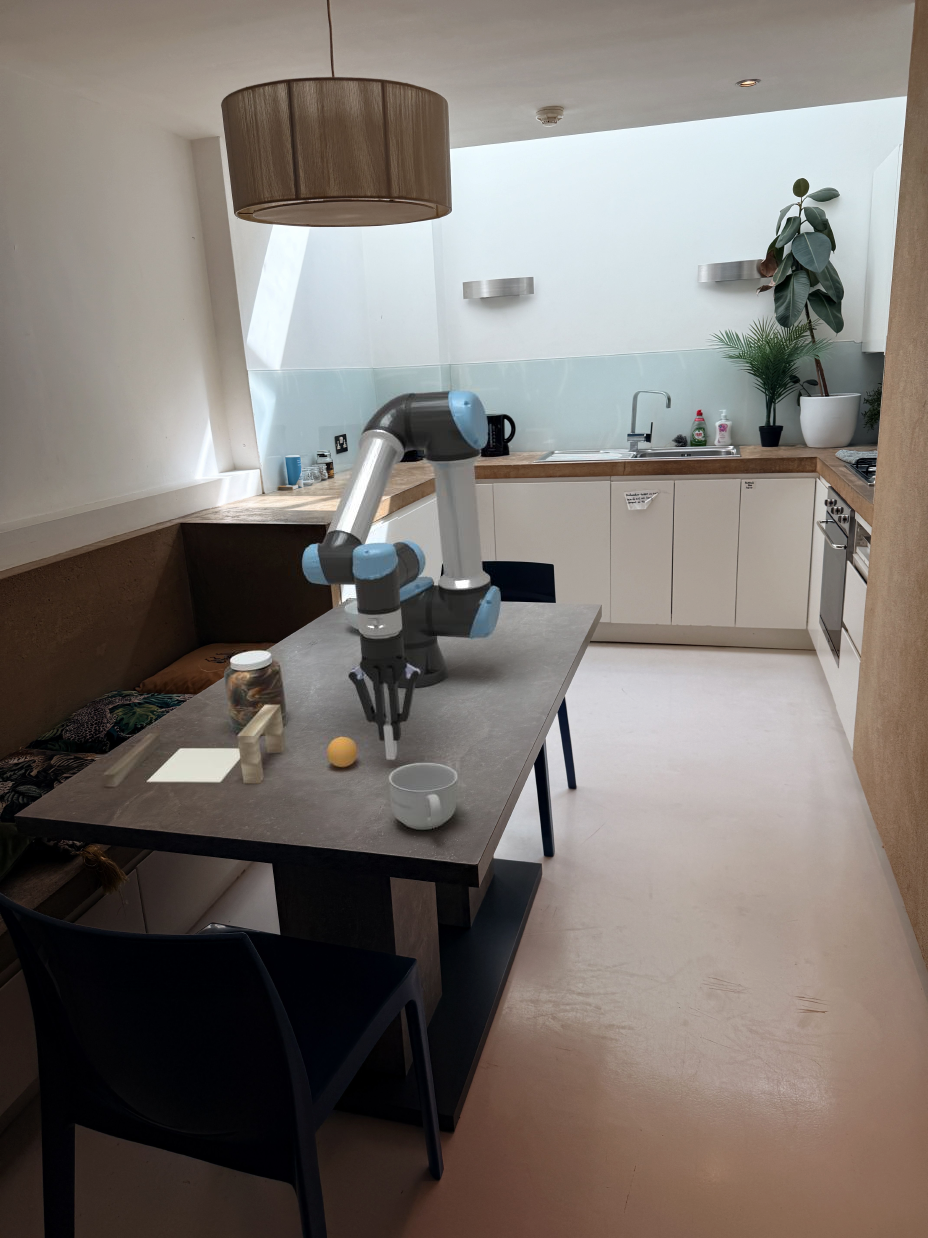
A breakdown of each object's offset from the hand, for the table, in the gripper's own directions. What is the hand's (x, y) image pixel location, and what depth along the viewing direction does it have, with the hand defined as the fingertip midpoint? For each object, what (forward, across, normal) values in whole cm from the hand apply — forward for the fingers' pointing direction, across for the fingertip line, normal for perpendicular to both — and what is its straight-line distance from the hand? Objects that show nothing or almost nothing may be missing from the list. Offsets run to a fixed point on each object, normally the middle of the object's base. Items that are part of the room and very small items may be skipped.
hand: (391, 756), depth 159 cm
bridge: (+2, -24, 0) cm, 24 cm away
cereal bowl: (+2, -21, +86) cm, 89 cm away
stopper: (+2, -50, +1) cm, 50 cm away
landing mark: (+2, -37, 0) cm, 37 cm away
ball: (-1, -9, 0) cm, 9 cm away
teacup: (+2, +10, -21) cm, 23 cm away
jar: (+2, -32, +19) cm, 37 cm away
